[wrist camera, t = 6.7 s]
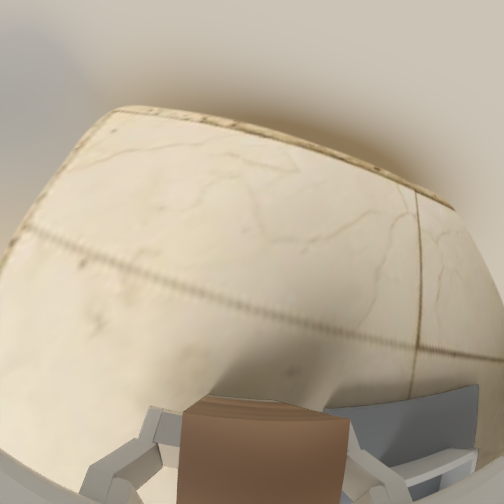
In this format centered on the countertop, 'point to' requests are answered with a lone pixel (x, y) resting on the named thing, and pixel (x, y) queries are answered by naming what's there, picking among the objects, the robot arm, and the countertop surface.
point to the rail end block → (260, 453)
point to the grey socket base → (420, 438)
